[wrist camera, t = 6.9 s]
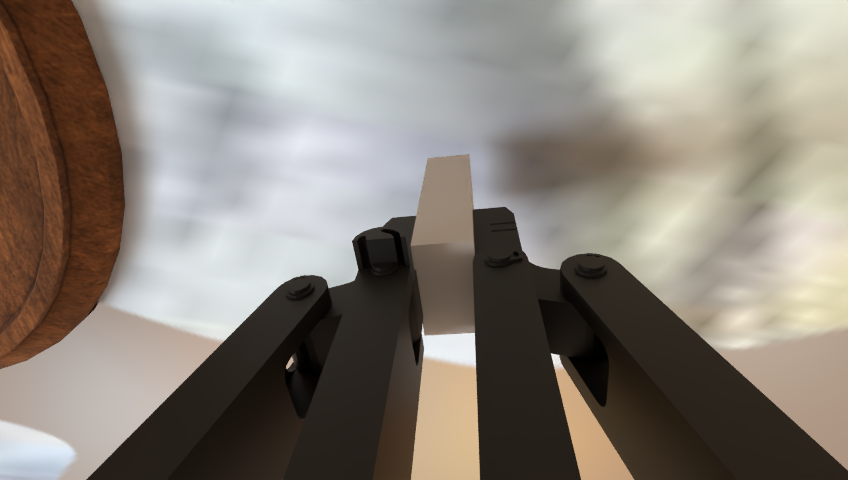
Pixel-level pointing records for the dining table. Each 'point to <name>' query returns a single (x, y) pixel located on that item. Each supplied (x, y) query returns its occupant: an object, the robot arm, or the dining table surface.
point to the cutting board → (53, 177)
